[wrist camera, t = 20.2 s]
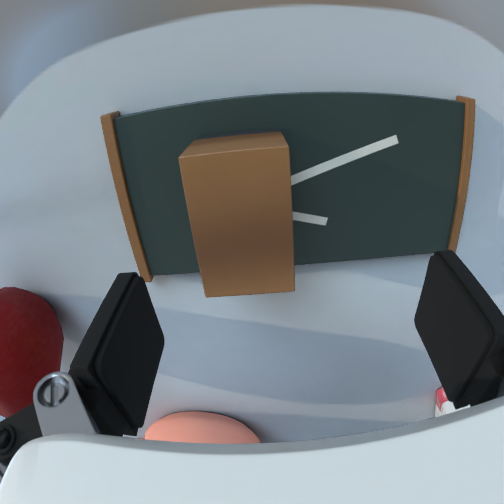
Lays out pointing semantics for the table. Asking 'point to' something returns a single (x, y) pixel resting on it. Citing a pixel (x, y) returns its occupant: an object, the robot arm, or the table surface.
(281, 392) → the table surface
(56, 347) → the apple
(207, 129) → the slate board
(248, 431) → the teapot
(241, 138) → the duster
